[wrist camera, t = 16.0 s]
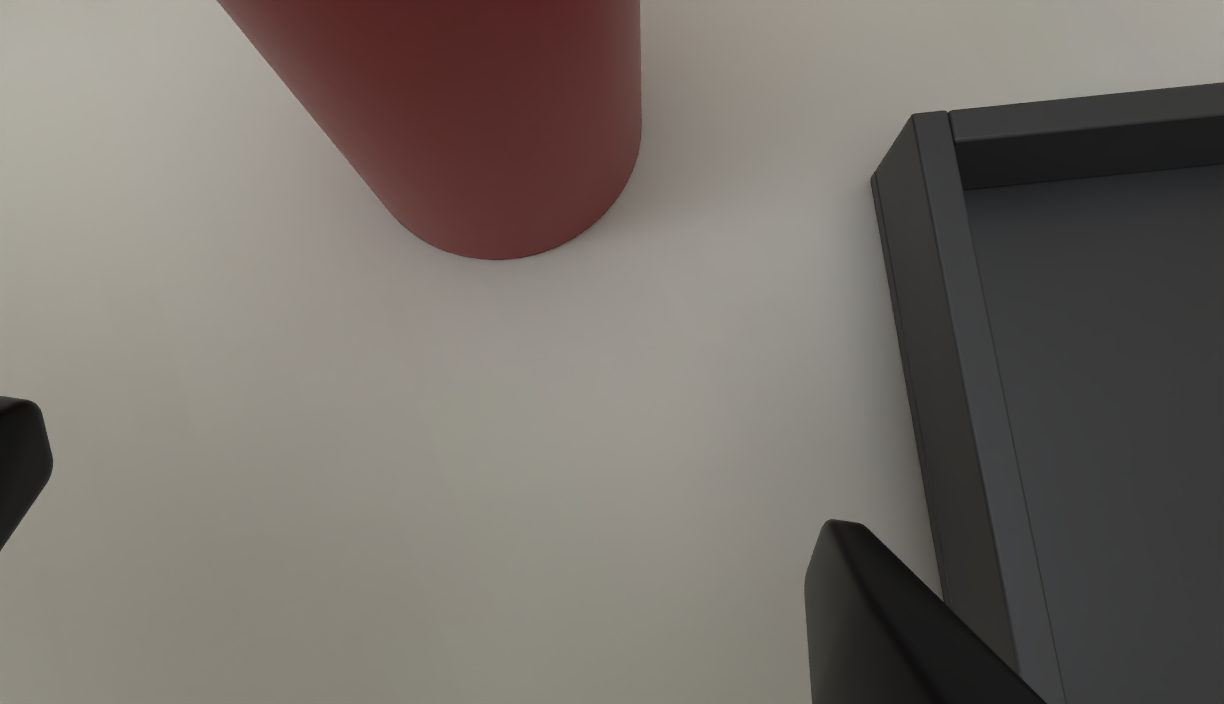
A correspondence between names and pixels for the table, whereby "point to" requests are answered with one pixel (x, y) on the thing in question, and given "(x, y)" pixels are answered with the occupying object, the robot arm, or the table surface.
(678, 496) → the table surface
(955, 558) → the tray
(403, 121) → the can
